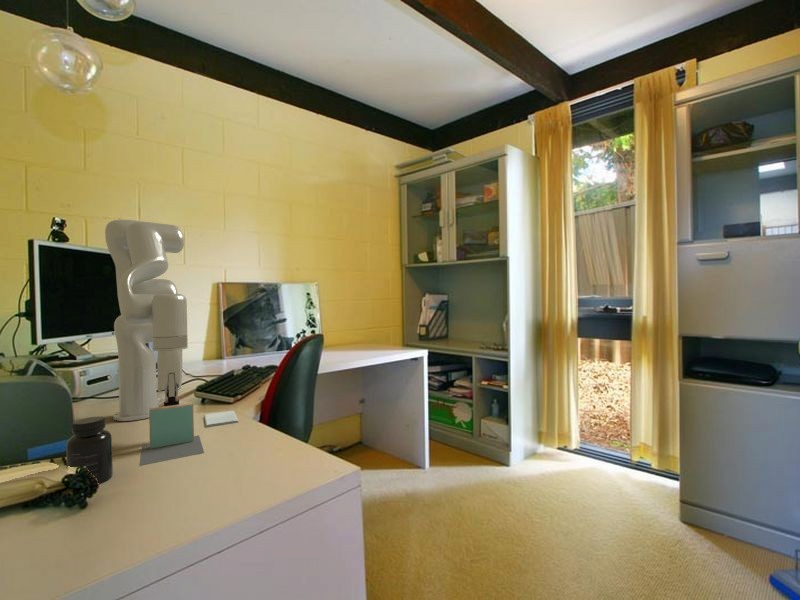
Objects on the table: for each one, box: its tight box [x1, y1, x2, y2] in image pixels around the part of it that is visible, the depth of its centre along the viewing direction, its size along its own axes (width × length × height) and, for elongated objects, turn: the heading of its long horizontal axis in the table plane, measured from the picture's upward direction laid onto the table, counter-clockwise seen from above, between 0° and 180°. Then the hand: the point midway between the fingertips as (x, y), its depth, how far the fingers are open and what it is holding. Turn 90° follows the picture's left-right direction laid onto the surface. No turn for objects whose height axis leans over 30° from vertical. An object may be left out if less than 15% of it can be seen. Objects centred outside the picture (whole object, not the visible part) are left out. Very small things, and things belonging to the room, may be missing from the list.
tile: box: [148, 402, 195, 449], centre depth 93 cm, size 2×9×9 cm, turn 121°
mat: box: [139, 434, 205, 467], centre depth 90 cm, size 14×12×1 cm
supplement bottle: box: [65, 416, 114, 485], centre depth 74 cm, size 7×7×12 cm
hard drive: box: [203, 410, 239, 428], centre depth 113 cm, size 2×8×12 cm
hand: (171, 417), depth 97 cm, fingers closed
